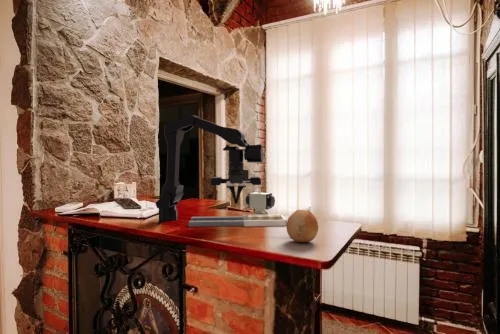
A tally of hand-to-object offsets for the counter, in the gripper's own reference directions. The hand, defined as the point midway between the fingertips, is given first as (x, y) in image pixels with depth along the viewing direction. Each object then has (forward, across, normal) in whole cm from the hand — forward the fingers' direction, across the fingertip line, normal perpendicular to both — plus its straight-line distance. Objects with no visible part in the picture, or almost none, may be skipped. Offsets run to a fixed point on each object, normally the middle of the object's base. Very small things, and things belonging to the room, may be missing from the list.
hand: (236, 203), depth 118 cm
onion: (+9, +20, -24) cm, 32 cm away
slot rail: (+8, -7, 0) cm, 11 cm away
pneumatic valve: (+9, +11, +12) cm, 18 cm away
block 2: (+8, +11, 0) cm, 13 cm away
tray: (+8, +11, 0) cm, 14 cm away
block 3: (+8, +15, 0) cm, 17 cm away
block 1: (+8, +7, 0) cm, 10 cm away
